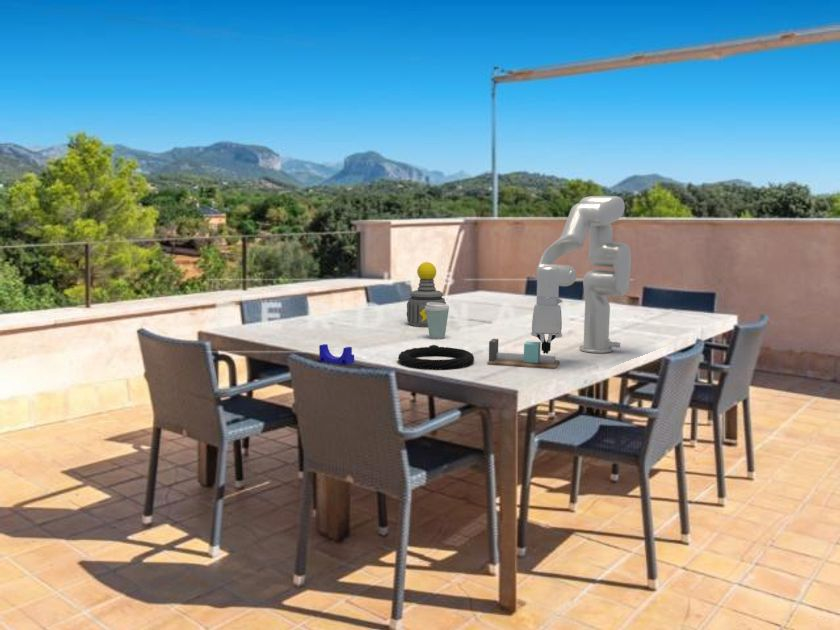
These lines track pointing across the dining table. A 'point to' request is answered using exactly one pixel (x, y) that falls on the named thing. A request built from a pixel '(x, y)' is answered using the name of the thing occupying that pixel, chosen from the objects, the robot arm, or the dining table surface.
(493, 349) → the stop
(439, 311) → the disposable coffee cup
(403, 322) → the dining table surface
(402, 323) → the dining table surface
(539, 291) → the robot arm
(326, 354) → the cable clip
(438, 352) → the cable lock
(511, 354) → the rail
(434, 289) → the decorative lamp
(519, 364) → the board
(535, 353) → the slider
